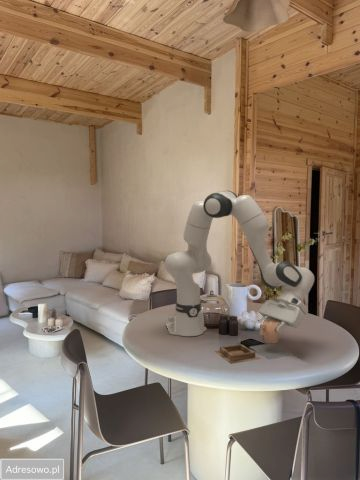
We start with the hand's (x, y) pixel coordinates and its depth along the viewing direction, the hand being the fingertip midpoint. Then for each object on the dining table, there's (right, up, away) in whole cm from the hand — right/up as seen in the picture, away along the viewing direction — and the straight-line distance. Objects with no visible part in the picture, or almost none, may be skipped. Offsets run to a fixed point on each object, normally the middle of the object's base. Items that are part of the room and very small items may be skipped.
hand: (270, 329), depth 146 cm
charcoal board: (0, -10, +1) cm, 10 cm away
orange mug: (0, -5, 0) cm, 5 cm away
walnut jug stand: (-14, -11, -4) cm, 18 cm away
